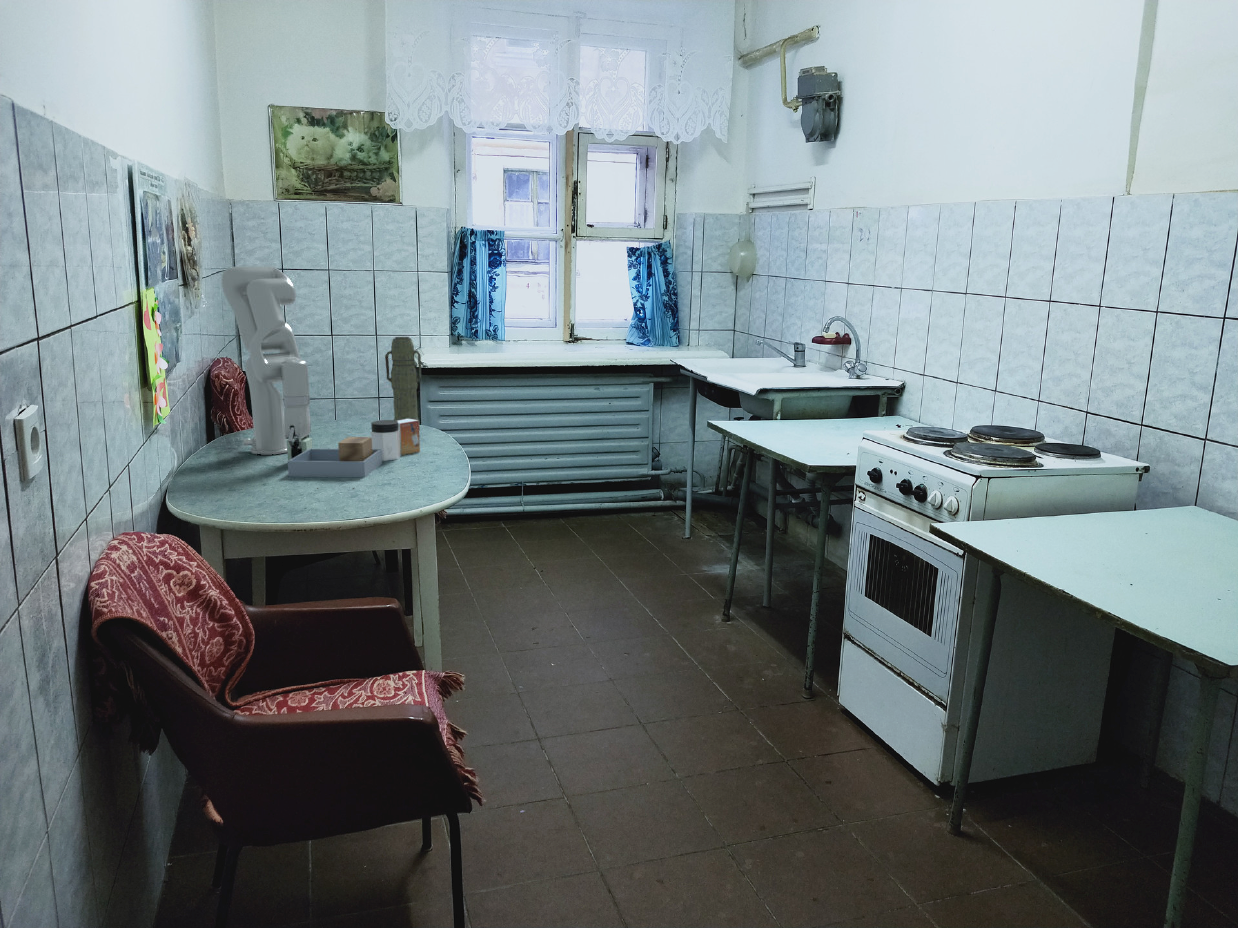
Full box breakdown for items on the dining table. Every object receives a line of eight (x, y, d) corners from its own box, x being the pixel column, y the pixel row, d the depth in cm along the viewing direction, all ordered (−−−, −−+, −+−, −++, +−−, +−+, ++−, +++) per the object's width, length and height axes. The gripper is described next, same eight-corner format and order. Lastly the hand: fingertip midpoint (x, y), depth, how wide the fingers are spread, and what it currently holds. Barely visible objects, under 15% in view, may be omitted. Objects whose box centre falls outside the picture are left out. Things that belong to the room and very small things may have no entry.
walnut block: (340, 473, 263) (338, 442, 261) (350, 466, 272) (348, 436, 270) (364, 473, 263) (362, 443, 261) (373, 466, 271) (371, 437, 269)
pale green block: (288, 463, 278) (286, 441, 276) (294, 459, 282) (292, 437, 281) (307, 463, 278) (306, 441, 276) (313, 459, 282) (312, 438, 281)
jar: (377, 464, 278) (374, 425, 275) (368, 459, 285) (366, 421, 282) (405, 460, 283) (403, 422, 280) (396, 455, 289) (394, 418, 287)
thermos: (388, 435, 321) (383, 336, 314) (422, 434, 325) (418, 335, 317) (390, 440, 313) (384, 338, 305) (425, 438, 316) (420, 338, 309)
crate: (289, 478, 259) (287, 461, 258) (310, 465, 276) (309, 448, 275) (365, 479, 259) (364, 461, 258) (382, 466, 276) (381, 449, 274)
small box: (401, 455, 290) (399, 423, 287) (389, 453, 293) (388, 421, 291) (420, 451, 296) (419, 420, 294) (409, 449, 299) (407, 418, 297)
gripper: (295, 396, 284) (299, 452, 288) (273, 405, 267) (277, 465, 272) (318, 396, 284) (322, 453, 288) (298, 406, 267) (302, 466, 271)
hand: (300, 458), depth 280 cm, fingers closed on pale green block, 5 cm apart
